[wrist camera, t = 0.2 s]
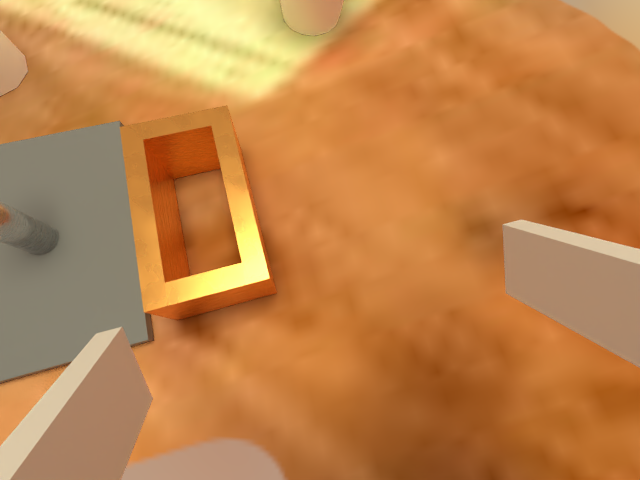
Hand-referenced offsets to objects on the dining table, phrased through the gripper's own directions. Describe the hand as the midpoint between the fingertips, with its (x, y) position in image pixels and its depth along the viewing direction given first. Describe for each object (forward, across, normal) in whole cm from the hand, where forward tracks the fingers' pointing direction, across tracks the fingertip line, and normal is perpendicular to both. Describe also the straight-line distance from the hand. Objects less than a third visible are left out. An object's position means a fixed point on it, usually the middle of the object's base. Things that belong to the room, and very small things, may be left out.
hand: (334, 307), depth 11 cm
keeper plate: (+21, +19, -2) cm, 28 cm away
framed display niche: (+20, +6, 0) cm, 21 cm away
